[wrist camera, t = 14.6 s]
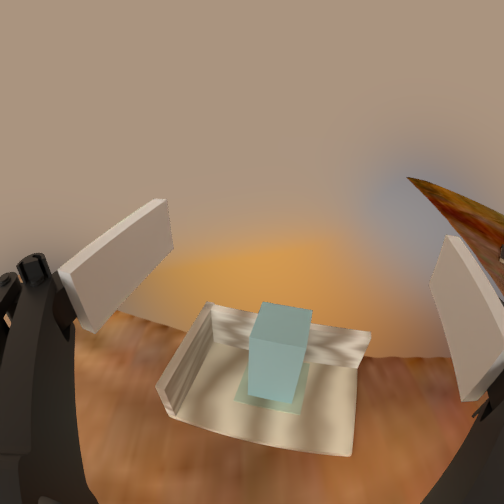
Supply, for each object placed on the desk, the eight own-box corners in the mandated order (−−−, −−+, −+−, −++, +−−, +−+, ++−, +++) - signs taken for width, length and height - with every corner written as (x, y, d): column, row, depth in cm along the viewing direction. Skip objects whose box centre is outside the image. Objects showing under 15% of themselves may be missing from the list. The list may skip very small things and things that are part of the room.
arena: (355, 364, 40) (370, 330, 36) (349, 456, 27) (371, 433, 23) (210, 337, 45) (206, 301, 41) (169, 416, 32) (155, 386, 28)
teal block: (298, 370, 38) (312, 310, 32) (291, 403, 33) (306, 348, 27) (258, 362, 40) (262, 301, 34) (247, 394, 35) (249, 337, 29)
